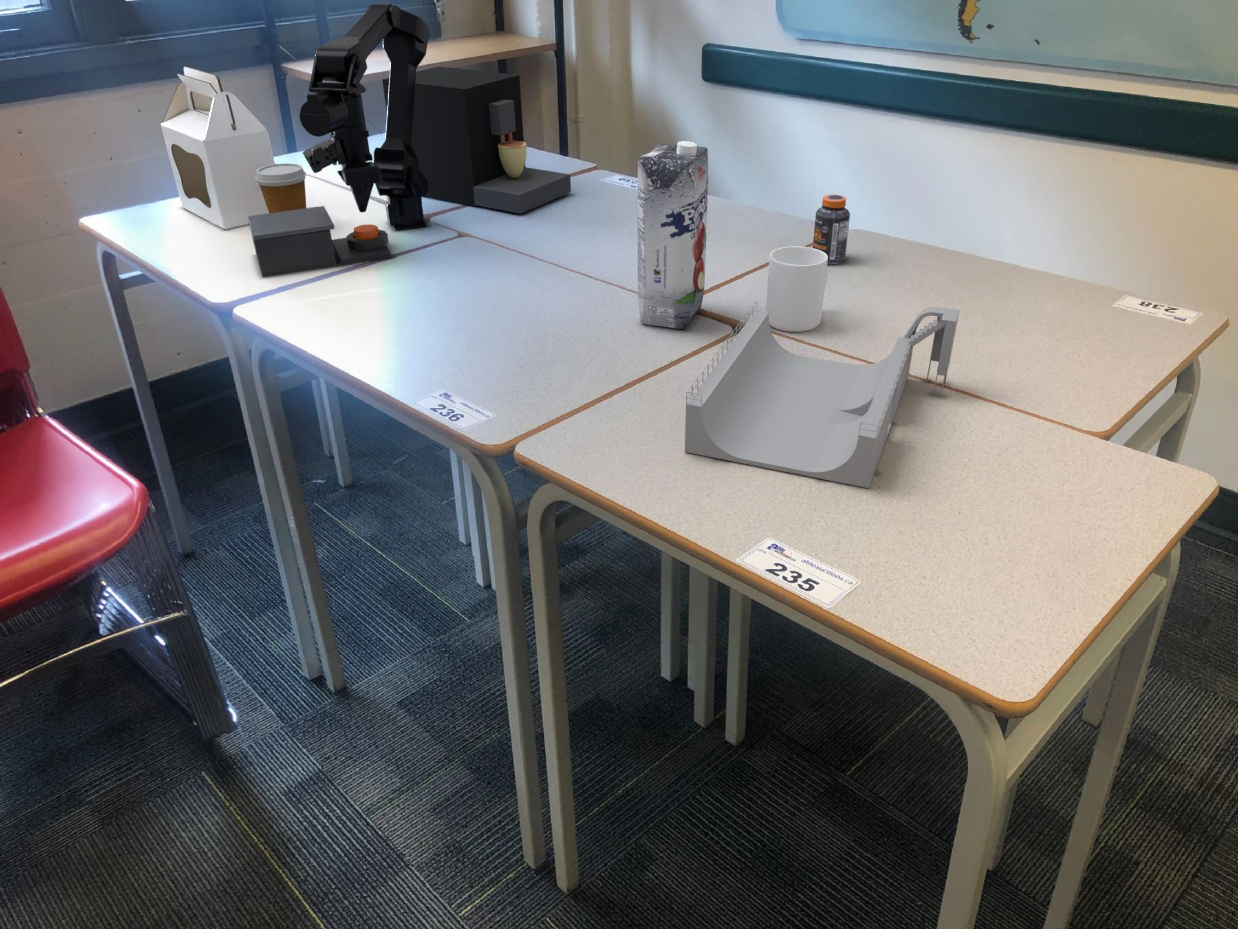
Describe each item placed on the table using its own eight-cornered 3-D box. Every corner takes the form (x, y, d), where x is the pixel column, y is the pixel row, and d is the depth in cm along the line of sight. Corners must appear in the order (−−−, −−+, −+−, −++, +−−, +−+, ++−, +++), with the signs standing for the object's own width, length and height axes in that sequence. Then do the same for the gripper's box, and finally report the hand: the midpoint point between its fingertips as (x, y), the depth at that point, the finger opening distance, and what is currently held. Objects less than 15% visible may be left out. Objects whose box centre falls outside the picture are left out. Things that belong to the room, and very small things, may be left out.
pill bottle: (805, 256, 173) (811, 193, 167) (834, 252, 175) (841, 190, 169) (821, 266, 168) (827, 203, 162) (851, 262, 170) (858, 199, 164)
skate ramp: (753, 353, 139) (757, 283, 133) (945, 383, 129) (959, 309, 124) (684, 452, 115) (686, 372, 109) (914, 498, 106) (929, 413, 100)
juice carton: (632, 326, 147) (631, 147, 133) (655, 301, 156) (656, 131, 142) (687, 334, 145) (692, 152, 130) (707, 308, 153) (714, 135, 139)
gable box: (181, 207, 205) (145, 68, 190) (240, 194, 212) (209, 60, 198) (225, 230, 191) (189, 82, 176) (286, 215, 199) (257, 72, 184)
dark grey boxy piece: (326, 246, 182) (320, 211, 178) (336, 266, 172) (330, 230, 169) (256, 255, 178) (248, 220, 174) (262, 277, 168) (254, 240, 165)
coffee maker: (520, 216, 196) (512, 95, 183) (397, 191, 212) (381, 79, 200) (571, 194, 209) (566, 79, 196) (450, 173, 225) (439, 66, 213)
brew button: (376, 232, 180) (375, 223, 179) (381, 238, 177) (379, 229, 176) (353, 235, 179) (351, 226, 178) (357, 242, 175) (355, 233, 175)
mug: (845, 316, 149) (853, 250, 144) (796, 338, 143) (803, 269, 137) (802, 301, 155) (808, 237, 149) (753, 321, 148) (757, 255, 143)
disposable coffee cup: (308, 237, 187) (296, 175, 180) (260, 237, 187) (246, 175, 181) (321, 222, 195) (311, 162, 188) (275, 222, 195) (263, 162, 189)
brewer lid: (324, 209, 179) (323, 205, 178) (334, 228, 169) (333, 224, 168) (248, 220, 174) (247, 215, 174) (254, 240, 164) (253, 235, 164)
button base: (382, 238, 185) (380, 223, 184) (394, 257, 176) (392, 242, 174) (332, 245, 182) (329, 230, 181) (341, 265, 173) (339, 249, 171)
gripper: (295, 117, 172) (311, 203, 180) (308, 139, 157) (325, 232, 165) (357, 111, 175) (370, 196, 184) (376, 132, 161) (389, 223, 169)
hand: (362, 211), depth 175 cm, fingers closed
